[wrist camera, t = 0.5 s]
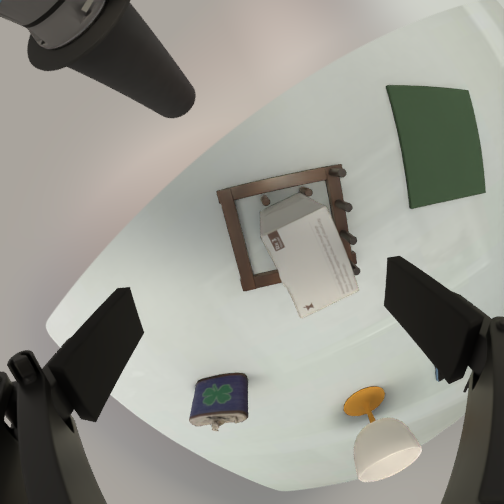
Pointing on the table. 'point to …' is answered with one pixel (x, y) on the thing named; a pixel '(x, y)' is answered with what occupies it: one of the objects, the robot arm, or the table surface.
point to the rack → (268, 185)
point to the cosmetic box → (307, 253)
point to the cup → (380, 439)
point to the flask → (220, 400)
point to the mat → (437, 143)
